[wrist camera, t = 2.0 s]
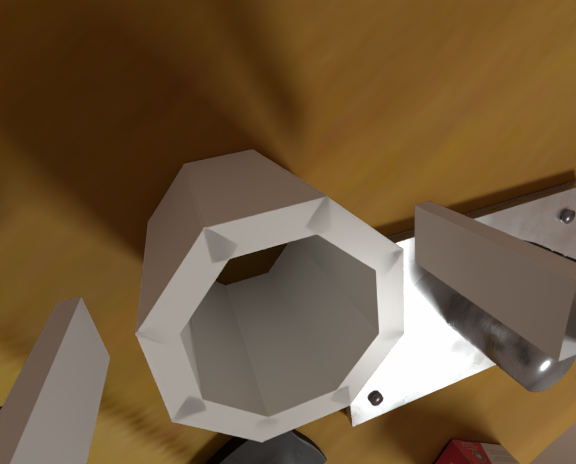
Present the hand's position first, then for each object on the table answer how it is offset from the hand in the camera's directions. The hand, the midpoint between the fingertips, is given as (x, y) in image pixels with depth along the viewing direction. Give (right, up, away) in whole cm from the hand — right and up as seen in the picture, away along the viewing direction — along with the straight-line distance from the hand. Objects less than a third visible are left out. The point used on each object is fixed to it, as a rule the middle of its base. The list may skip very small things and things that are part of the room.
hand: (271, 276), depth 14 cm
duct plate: (+13, -3, +12) cm, 19 cm away
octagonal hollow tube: (-2, +2, +5) cm, 6 cm away
